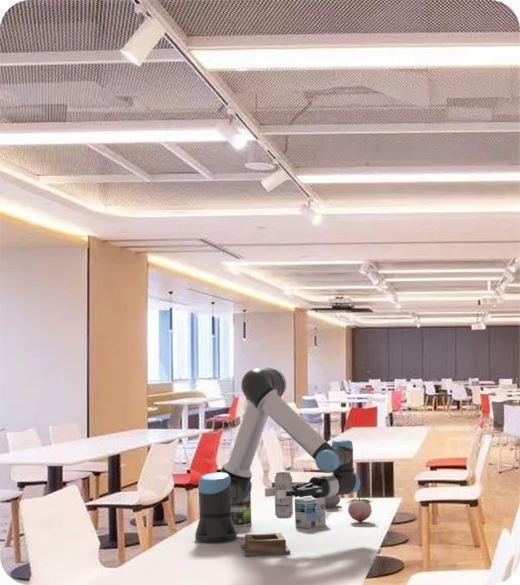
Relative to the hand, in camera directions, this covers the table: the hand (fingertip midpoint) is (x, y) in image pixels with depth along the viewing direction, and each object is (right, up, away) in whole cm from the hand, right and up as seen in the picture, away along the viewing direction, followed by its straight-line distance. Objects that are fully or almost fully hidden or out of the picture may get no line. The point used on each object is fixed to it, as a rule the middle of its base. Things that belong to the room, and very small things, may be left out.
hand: (271, 493), depth 336 cm
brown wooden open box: (-2, -20, +2) cm, 20 cm away
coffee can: (-12, -23, +54) cm, 60 cm away
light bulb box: (+16, -22, +47) cm, 55 cm away
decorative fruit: (+35, -22, +52) cm, 66 cm away
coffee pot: (+24, -24, +88) cm, 94 cm away
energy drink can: (+4, -9, +3) cm, 10 cm away
